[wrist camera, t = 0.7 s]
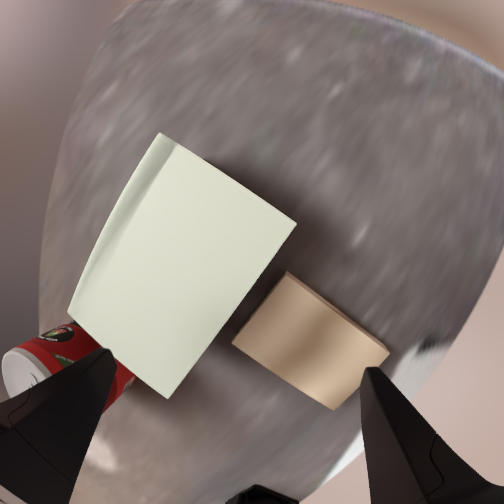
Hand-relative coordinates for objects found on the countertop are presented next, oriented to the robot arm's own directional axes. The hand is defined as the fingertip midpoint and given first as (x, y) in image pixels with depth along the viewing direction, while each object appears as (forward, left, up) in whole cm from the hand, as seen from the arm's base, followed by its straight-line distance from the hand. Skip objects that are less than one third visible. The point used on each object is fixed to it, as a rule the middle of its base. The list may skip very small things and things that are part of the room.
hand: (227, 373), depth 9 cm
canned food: (+8, +14, -13) cm, 21 cm away
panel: (-5, +1, -13) cm, 14 cm away
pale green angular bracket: (+6, +1, -13) cm, 14 cm away
